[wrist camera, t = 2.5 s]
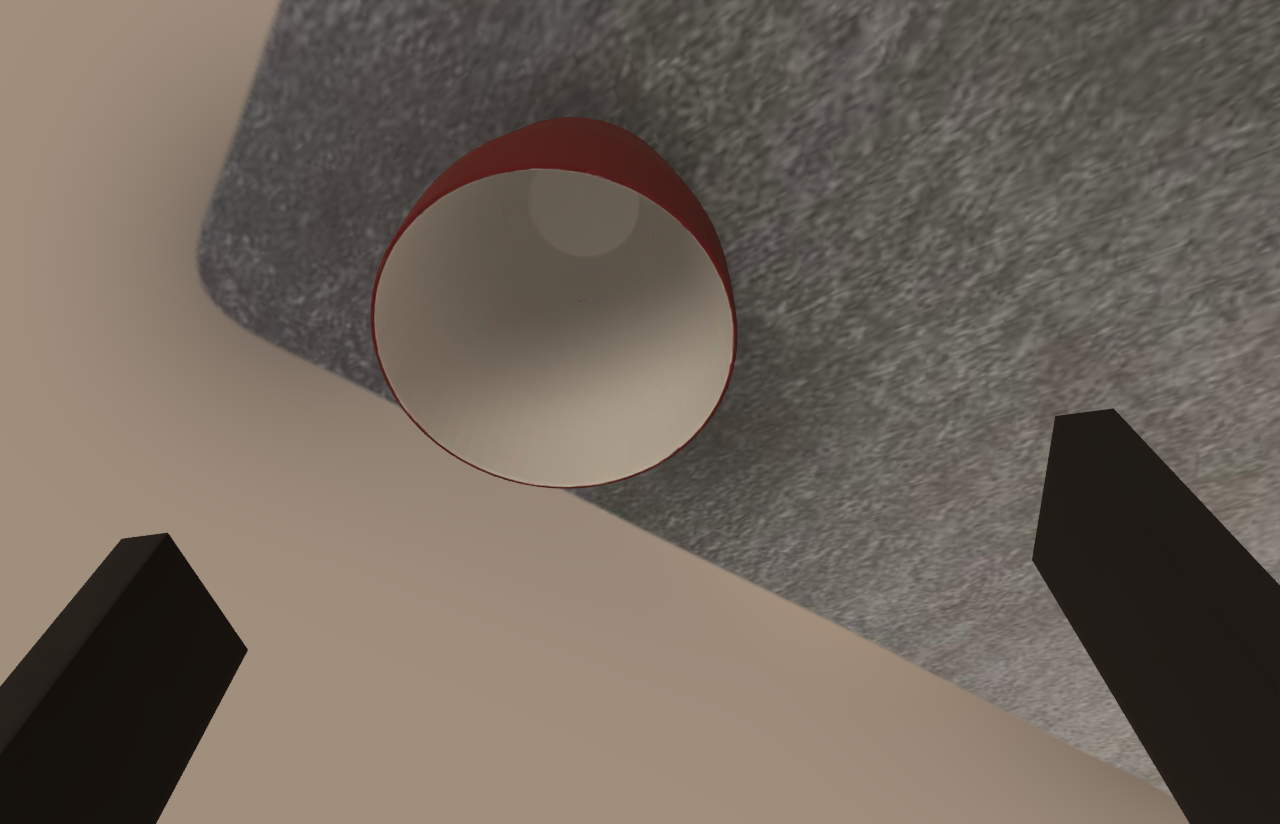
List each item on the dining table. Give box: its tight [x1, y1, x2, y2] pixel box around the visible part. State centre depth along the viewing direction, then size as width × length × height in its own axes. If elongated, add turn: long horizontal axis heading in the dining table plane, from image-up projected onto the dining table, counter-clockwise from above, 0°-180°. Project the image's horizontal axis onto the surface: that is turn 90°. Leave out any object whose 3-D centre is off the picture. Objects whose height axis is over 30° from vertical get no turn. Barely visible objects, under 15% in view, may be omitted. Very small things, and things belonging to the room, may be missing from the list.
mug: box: [371, 117, 737, 489], centre depth 22 cm, size 11×8×10 cm
